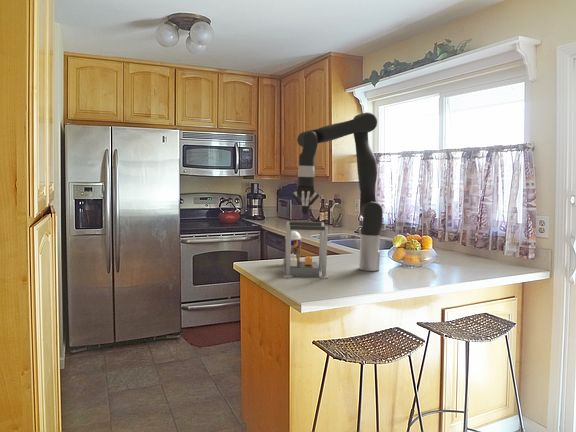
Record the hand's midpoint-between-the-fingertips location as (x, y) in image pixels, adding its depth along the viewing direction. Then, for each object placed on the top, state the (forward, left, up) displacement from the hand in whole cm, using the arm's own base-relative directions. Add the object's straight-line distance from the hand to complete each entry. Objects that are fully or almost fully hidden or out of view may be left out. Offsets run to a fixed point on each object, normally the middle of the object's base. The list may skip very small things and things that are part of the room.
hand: (304, 214), depth 204 cm
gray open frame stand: (-1, 0, -27) cm, 27 cm away
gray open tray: (+1, 0, -27) cm, 27 cm away
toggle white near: (+5, +5, -23) cm, 24 cm away
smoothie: (+4, -18, -28) cm, 33 cm away
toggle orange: (-2, 0, -23) cm, 23 cm away
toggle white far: (+5, -5, -23) cm, 24 cm away
